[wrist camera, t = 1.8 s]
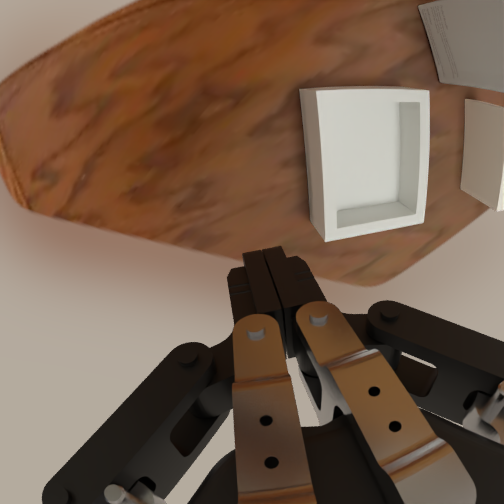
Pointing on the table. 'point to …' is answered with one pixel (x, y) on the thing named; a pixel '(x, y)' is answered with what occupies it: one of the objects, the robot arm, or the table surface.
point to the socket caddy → (365, 157)
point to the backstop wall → (484, 153)
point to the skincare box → (467, 41)
